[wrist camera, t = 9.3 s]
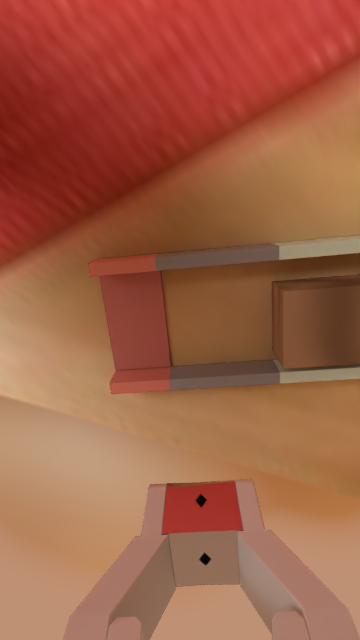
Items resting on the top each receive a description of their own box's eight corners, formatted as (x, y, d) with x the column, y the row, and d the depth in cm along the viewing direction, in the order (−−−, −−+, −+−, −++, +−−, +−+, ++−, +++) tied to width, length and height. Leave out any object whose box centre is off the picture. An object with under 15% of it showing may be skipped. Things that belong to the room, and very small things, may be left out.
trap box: (117, 380, 30) (111, 393, 28) (97, 259, 27) (88, 263, 24) (439, 359, 28) (462, 372, 26) (459, 225, 25) (487, 226, 22)
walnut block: (271, 348, 29) (283, 368, 25) (271, 281, 27) (283, 291, 23) (366, 342, 28) (393, 361, 24) (372, 272, 26) (401, 282, 23)
